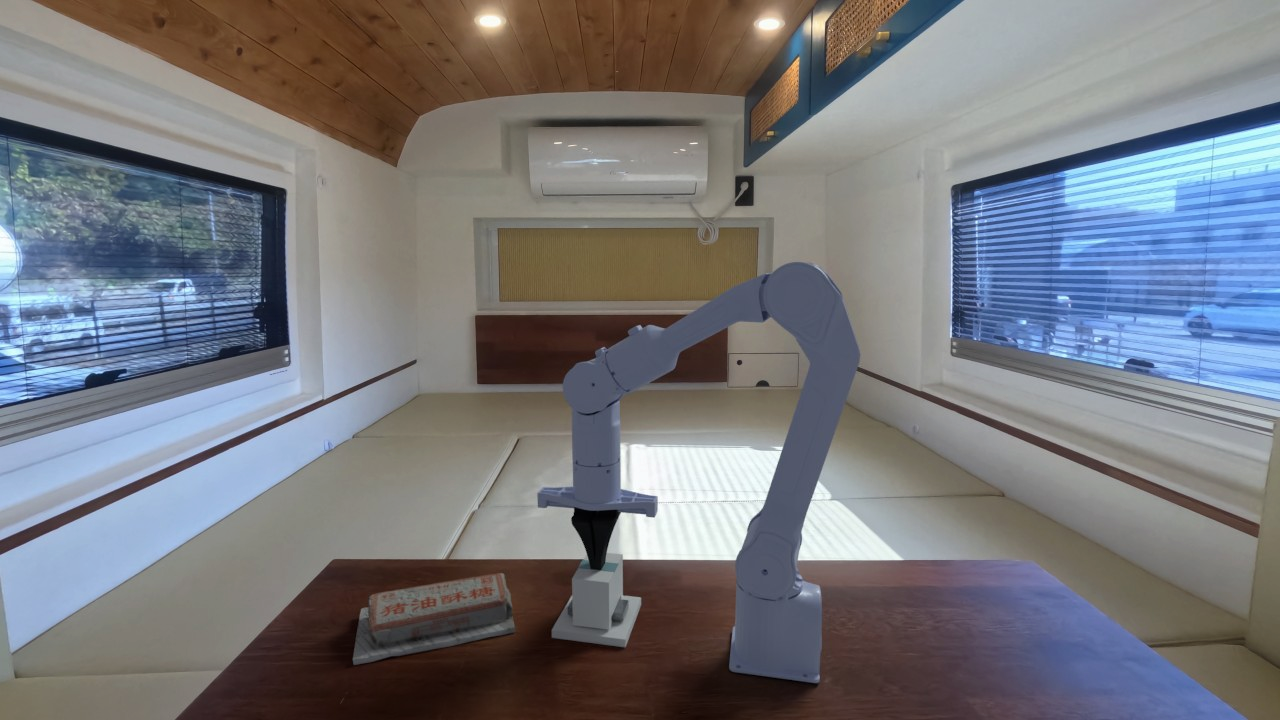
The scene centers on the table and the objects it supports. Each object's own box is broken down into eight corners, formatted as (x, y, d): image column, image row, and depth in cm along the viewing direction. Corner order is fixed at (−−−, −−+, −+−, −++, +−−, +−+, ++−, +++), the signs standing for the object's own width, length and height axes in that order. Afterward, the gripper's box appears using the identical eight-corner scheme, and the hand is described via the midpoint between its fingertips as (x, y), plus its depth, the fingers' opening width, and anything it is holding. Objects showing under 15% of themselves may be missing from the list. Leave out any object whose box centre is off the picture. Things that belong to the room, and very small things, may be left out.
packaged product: (504, 560, 80) (515, 599, 71) (505, 593, 81) (516, 636, 72) (358, 584, 74) (348, 630, 65) (360, 620, 75) (351, 670, 66)
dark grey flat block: (628, 607, 75) (628, 600, 74) (623, 621, 72) (622, 613, 72) (575, 601, 76) (575, 594, 76) (567, 614, 73) (567, 607, 73)
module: (623, 597, 77) (623, 553, 76) (609, 629, 70) (609, 582, 69) (589, 593, 78) (588, 550, 77) (572, 625, 71) (571, 578, 70)
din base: (641, 604, 78) (641, 597, 77) (625, 647, 69) (625, 639, 69) (575, 596, 79) (575, 589, 79) (551, 637, 71) (551, 629, 70)
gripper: (662, 452, 73) (661, 555, 75) (550, 445, 76) (553, 545, 78) (651, 472, 66) (651, 584, 69) (529, 463, 69) (532, 571, 71)
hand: (597, 565), depth 73 cm, fingers closed
